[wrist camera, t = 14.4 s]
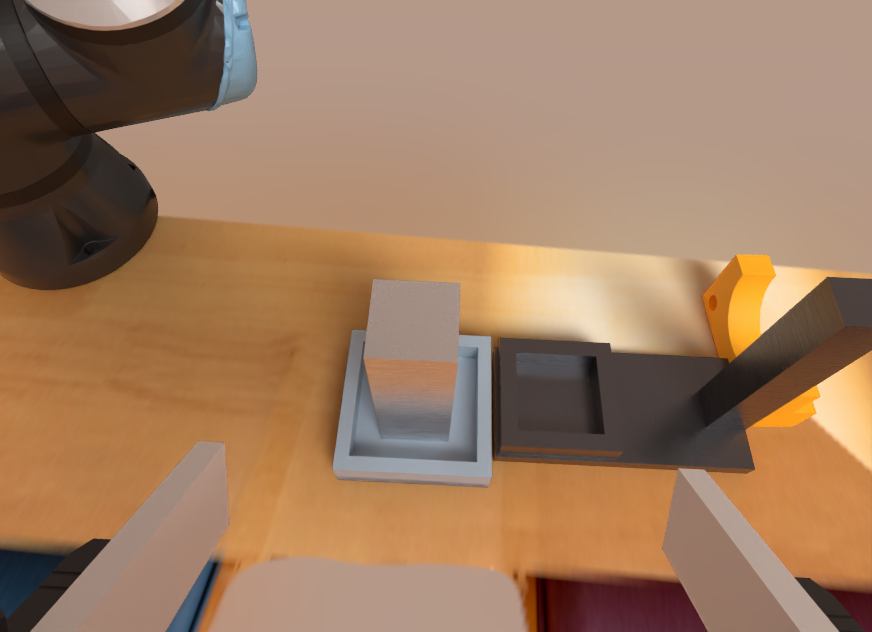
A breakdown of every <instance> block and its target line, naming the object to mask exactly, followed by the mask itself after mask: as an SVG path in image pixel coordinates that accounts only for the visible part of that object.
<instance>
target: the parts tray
mask: <svg viewBox="0 0 872 632" xmlns="http://www.w3.org/2000/svg"><path fill="white" fill-rule="evenodd" d="M366 332H367V330H352V333H351V341H350V348H349V355H348V362H347V369H346V376H345V383H344V390H343V398H342V405H341V412H340V419H339V426H338V433H337V440H336V447H335V455H334V462H333V469H332V470H333V471H334V473H335V475H336V476H337V478H338V480H352V481H372V482H391V483H411V484H430V485H450V486H469V487H488V485H489V482H490V480H491V478H492V447H491V336H472V335H459V350H458V368H457V376H456V384H455V392H454V400H453V409H452V417H451V425H450V433H449V441H448V442H434V441H414V440H394V439H382V438H381V434H380V429H379V425H378V420H377V416H376V412H375V407H374V403H373V398H372V394H371V390H370V385H369V381H368V376H367V372H366V368H365V363H364V359H363V356H364V348H365V340H366Z"/></svg>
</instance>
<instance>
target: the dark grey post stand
mask: <svg viewBox="0 0 872 632" xmlns="http://www.w3.org/2000/svg"><path fill="white" fill-rule="evenodd" d="M871 350H872V279H859V278H838V277H827V278H826V279H825V280H824V281H822V282H821V283H820V284H819V285H818V286H817V287H816V288H814V289H813V290H812V291H811V292H810V293H809V294H808V295H806V296H805V297H804V298H803V299H802V300H801V301H800V302H799V303H797V304H796V305H795V306H794V307H793V308H792V309H791V310H789V311H788V312H787V313H786V314H785V315H784V316H783V317H782V318H780V319H779V320H778V321H777V322H776V323H775V324H774V325H772V326H771V327H770V328H769V329H768V330H767V331H766V332H764V333H763V334H762V335H761V336H760V337H759V338H758V339H757V340H755V341H754V342H753V343H752V344H751V345H750V346H749V347H747V348H746V349H745V350H744V351H743V352H742V353H741V354H739V355H738V356H737V357H736V358H735V359H734V360H733V361H732V362H730V363H729V361H728V358H708V357H688V356H668V355H647V354H627V353H611V347H610V343H594V342H573V341H553V340H532V339H512V338H500V341H499V345H498V347H495V348H494V352H493V392H494V461H510V462H529V463H549V464H569V465H588V466H608V467H628V468H647V469H667V470H678V468H683V469H701V470H705V471H706V472H726V473H746V474H747V473H749V472H751V471H753V470H755V468H754V463H753V459H752V455H751V451H750V447H749V443H748V439H747V435H746V431H745V430H746V429H747V428H749V427H750V426H752V425H754V424H755V423H757V422H758V421H760V420H762V419H763V418H765V417H766V416H768V415H770V414H771V413H773V412H774V411H776V410H778V409H779V408H781V407H782V406H784V405H785V404H787V403H789V402H790V401H792V400H793V399H795V398H797V397H798V396H800V395H801V394H803V393H805V392H806V391H808V390H809V389H811V388H812V387H814V386H816V385H817V384H819V383H820V382H822V381H824V380H825V379H827V378H828V377H830V376H832V375H833V374H835V373H836V372H838V371H839V370H841V369H843V368H844V367H846V366H847V365H849V364H851V363H852V362H854V361H855V360H857V359H859V358H860V357H862V356H863V355H865V354H866V353H868V352H870V351H871Z"/></svg>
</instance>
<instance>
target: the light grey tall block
mask: <svg viewBox="0 0 872 632" xmlns="http://www.w3.org/2000/svg"><path fill="white" fill-rule="evenodd" d="M459 315H460V283H446V282H426V281H405V280H384V279H373V284H372V292H371V300H370V308H369V316H368V324H367V332H366V340H365V348H364V356H363V359H364V363H365V368H366V372H367V376H368V381H369V385H370V390H371V394H372V398H373V403H374V407H375V412H376V416H377V420H378V425H379V429H380V434H381V438H382V439H394V440H414V441H434V442H448V441H449V433H450V425H451V417H452V409H453V400H454V392H455V384H456V376H457V368H458V350H459Z"/></svg>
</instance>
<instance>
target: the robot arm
mask: <svg viewBox="0 0 872 632" xmlns="http://www.w3.org/2000/svg"><path fill="white" fill-rule="evenodd" d="M256 82H257V63H256V55H255V47H254V41H253V35H252V30H251V26H250V23H249V21H248V12H247V6H246V0H0V275H2V276H3V277H4V278H6V279H7V280H9V281H10V282H12V283H14V284H17V285H20V286H23V287H27V288H31V289H39V290H56V289H65V288H70V287H75V286H79V285H82V284H86V283H89V282H91V281H94V280H96V279H99V278H101V277H103V276H105V275H107V274H109V273H111V272H112V271H114V270H116V269H117V268H119V267H120V266H122V265H123V264H124V263H126V262H127V261H128V260H129V259H131V258H132V257H133V256H134V255H135V254H136V253H137V252H138V251H139V250H140V249H141V247H142V246H143V245H144V244H145V242H146V241H147V239H148V238H149V236H150V235H151V233H152V231H153V228H154V226H155V223H156V220H157V214H158V203H157V198H156V195H155V193H154V190H153V189H152V187H151V185H150V184H149V182H148V181H147V179H146V177H145V176H144V174H143V173H142V171H141V170H140V169H139V168H138V167H137V166H136V165H135V164H134V163H133V162H132V161H130V160H129V159H128V158H126V157H124V156H123V155H121V154H119V152H118V151H116V150H115V149H114V148H113V147H112V146H111V145H110V144H108V143H107V142H106V141H105V140H103V139H102V138H101V137H99V136H98V135H97V134H95V132H99V131H103V130H108V129H113V128H118V127H123V126H128V125H133V124H138V123H143V122H149V121H154V120H159V119H164V118H169V117H174V116H179V115H184V114H189V113H194V112H199V111H204V110H207V111H210V110H215V109H217V108H218V107H220V106H221V105H224V104H228V103H232V102H235V101H239V100H242V99H245V98H247V97H248V96H249V95H250V94H251V93H252V92H253V90H254V88H255V86H256ZM229 524H230V523H229V506H228V490H227V474H226V457H225V443H224V442H206V441H198V442H197V443H196V444H195V445H194V446H193V448H192V449H191V450H190V451H189V452H188V453H187V454H186V456H185V457H184V458H183V459H182V460H181V461H180V462H179V463H178V465H177V466H176V467H175V468H174V469H173V470H172V471H171V473H170V474H169V475H168V476H167V477H166V478H165V479H164V480H163V482H162V483H161V484H160V485H159V486H158V487H157V488H156V490H155V491H154V492H153V493H152V494H151V495H150V496H149V498H148V499H147V500H146V501H145V502H144V503H143V504H142V505H141V507H140V508H139V509H138V510H137V511H136V512H135V513H134V515H133V516H132V517H131V518H130V519H129V520H128V521H127V522H126V524H125V525H124V526H123V527H122V528H121V529H120V530H119V532H118V533H117V534H116V535H115V536H114V537H113V538H112V540H109V539H92V540H91V541H89V542H87V543H86V544H84V545H83V546H81V547H79V548H78V549H76V550H75V551H73V552H72V553H70V554H69V555H68V556H67V557H66V558H65V559H64V560H63V561H62V562H61V564H60V565H59V566H58V567H57V568H56V569H55V570H54V571H53V574H52V575H49V576H48V577H47V578H46V579H45V580H44V581H43V582H42V583H41V584H40V586H39V589H36V590H35V591H34V592H33V593H32V594H31V595H30V596H29V597H28V598H27V599H26V600H25V601H24V602H23V603H22V604H21V605H20V606H19V608H18V609H17V610H16V611H15V612H14V613H13V614H12V615H11V616H10V617H9V618H8V619H7V620H6V617H5V615H4V613H3V611H2V609H0V632H166V630H167V628H168V627H169V625H170V623H171V622H172V620H173V618H174V616H175V615H176V613H177V611H178V610H179V608H180V606H181V605H182V603H183V601H184V600H185V598H186V596H187V595H188V593H189V591H190V590H191V588H192V586H193V585H194V583H195V581H196V580H197V578H198V576H199V574H200V573H201V571H202V569H203V568H204V566H205V564H206V563H207V561H208V559H209V558H210V556H211V554H212V553H213V551H214V549H215V548H216V546H217V544H218V543H219V541H220V539H221V537H222V536H223V534H224V532H225V531H226V529H227V527H228V526H229ZM662 549H663V551H664V553H665V555H666V556H667V558H668V560H669V562H670V564H671V565H672V567H673V569H674V571H675V573H676V574H677V576H678V578H679V580H680V582H681V584H682V585H683V587H684V589H685V591H686V593H687V594H688V596H689V598H690V600H691V602H692V603H693V605H694V607H695V609H696V611H697V612H698V614H699V616H700V618H701V620H702V621H703V623H704V625H705V627H706V629H707V631H708V632H865V631H864V630H863V629H862V627H861V626H860V625H859V624H858V623H857V622H856V621H855V620H854V619H851V615H850V614H849V613H848V612H847V611H846V609H845V608H844V607H843V606H842V605H841V604H840V603H839V601H838V600H837V599H836V598H835V597H834V596H833V595H832V594H830V593H829V592H828V591H826V590H825V589H824V588H822V587H821V586H819V585H818V584H817V583H815V582H814V581H813V580H811V579H810V578H798V577H793V575H792V574H791V573H790V572H789V571H788V569H787V568H786V567H785V566H784V565H783V563H782V562H781V561H780V560H779V559H778V557H777V556H776V555H775V554H774V553H773V551H772V550H771V549H770V548H769V547H768V545H767V544H766V543H765V542H764V541H763V539H762V538H761V537H760V536H759V534H758V533H757V532H756V531H755V530H754V528H753V527H752V526H751V525H750V524H749V522H748V521H747V520H746V519H745V518H744V516H743V515H742V514H741V513H740V512H739V510H738V509H737V508H736V507H735V506H734V504H733V503H732V502H731V501H730V500H729V498H728V497H727V496H726V495H725V494H724V492H723V491H722V490H721V489H720V488H719V486H718V485H717V484H716V483H715V482H714V480H713V479H712V478H711V477H710V475H709V474H708V473H707V472H706V471H705V470H701V469H683V468H678V472H677V477H676V482H675V487H674V492H673V497H672V502H671V507H670V512H669V517H668V522H667V527H666V532H665V537H664V542H663V547H662Z"/></svg>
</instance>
